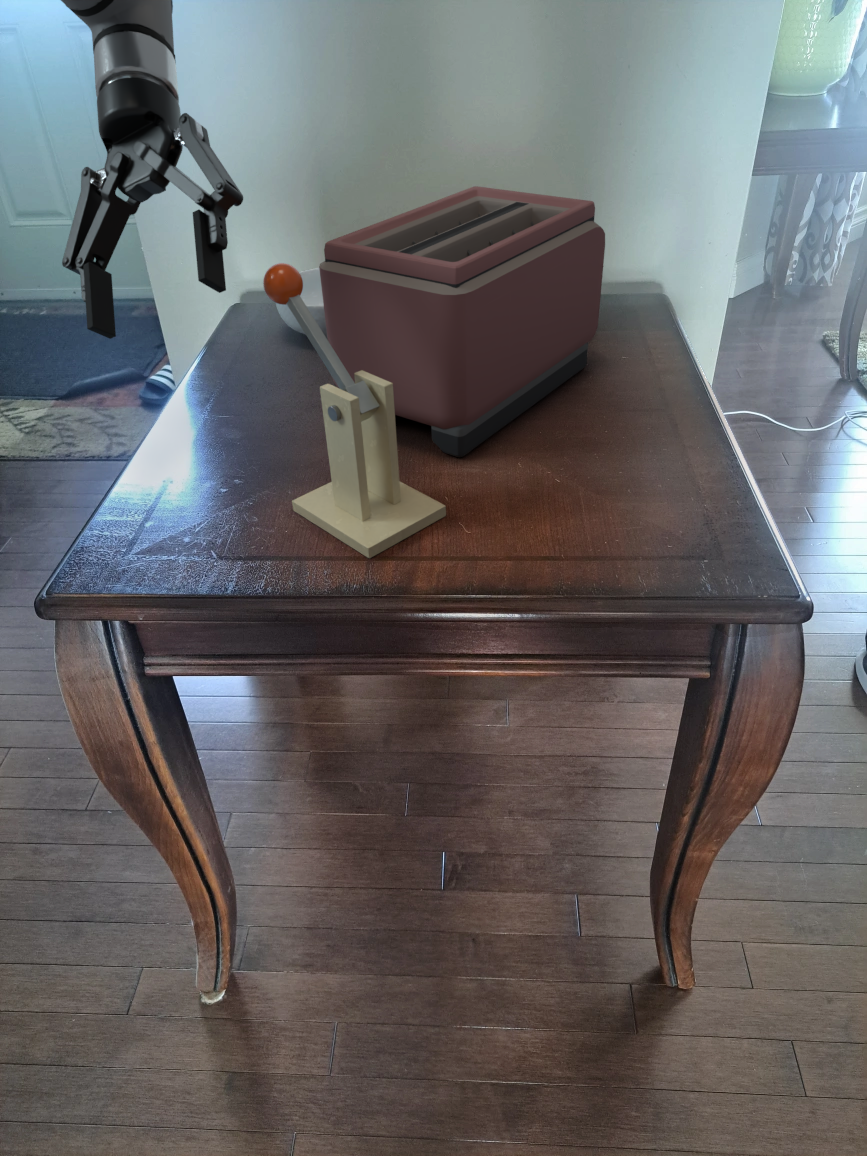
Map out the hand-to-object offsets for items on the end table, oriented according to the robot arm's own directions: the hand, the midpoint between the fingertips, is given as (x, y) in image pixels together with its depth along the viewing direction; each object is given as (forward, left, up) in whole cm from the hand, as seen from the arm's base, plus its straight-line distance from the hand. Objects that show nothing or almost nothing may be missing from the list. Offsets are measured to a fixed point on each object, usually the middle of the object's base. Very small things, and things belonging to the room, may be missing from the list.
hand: (155, 310), depth 76 cm
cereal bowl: (-14, +44, -20) cm, 50 cm away
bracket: (+18, +5, -19) cm, 27 cm away
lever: (+12, +7, -4) cm, 15 cm away
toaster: (+14, +36, -20) cm, 43 cm away
